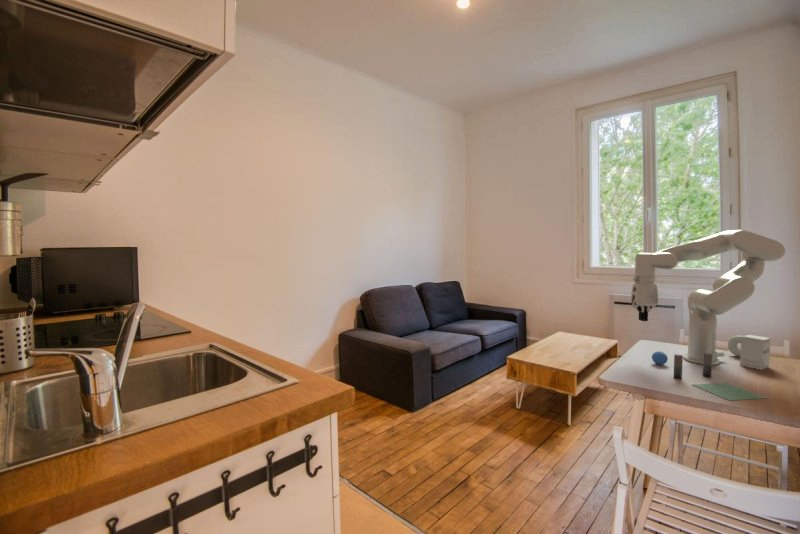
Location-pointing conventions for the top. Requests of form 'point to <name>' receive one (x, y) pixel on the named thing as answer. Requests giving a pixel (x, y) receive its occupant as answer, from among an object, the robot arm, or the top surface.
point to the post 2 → (707, 365)
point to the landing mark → (728, 391)
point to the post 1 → (678, 366)
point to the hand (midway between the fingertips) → (643, 320)
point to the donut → (734, 345)
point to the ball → (659, 358)
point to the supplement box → (755, 351)
